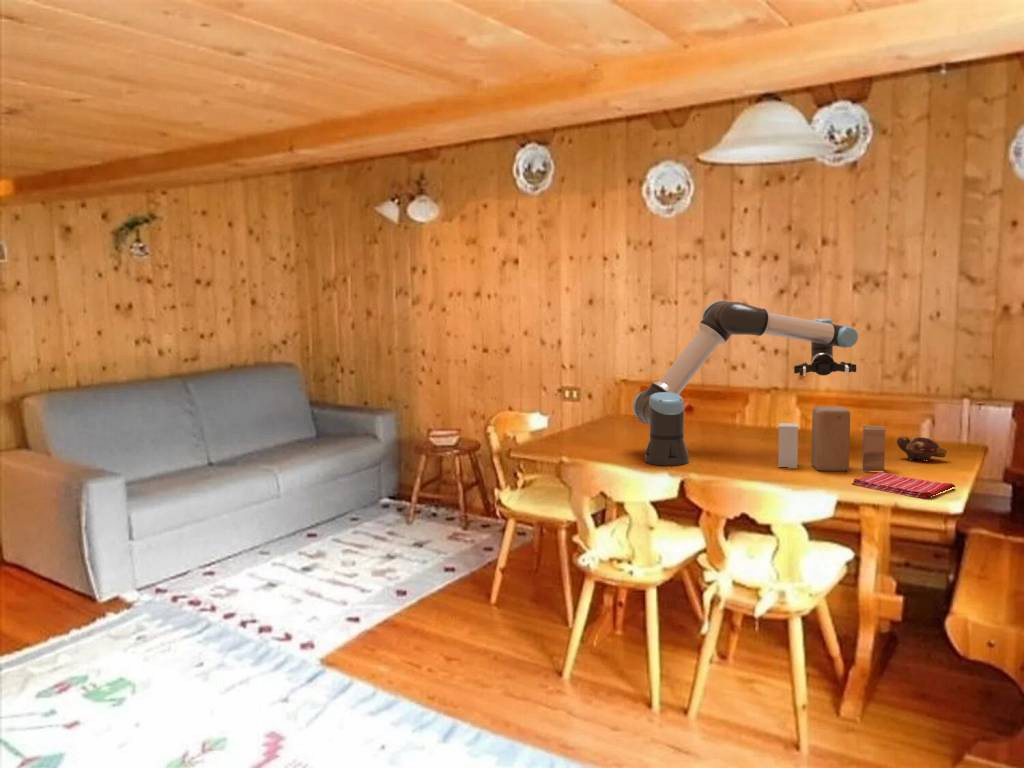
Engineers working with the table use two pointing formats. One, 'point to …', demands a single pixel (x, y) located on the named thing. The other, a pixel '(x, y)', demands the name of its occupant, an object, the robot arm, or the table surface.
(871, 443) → the walnut block
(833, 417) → the wooden block
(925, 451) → the decorative turtle
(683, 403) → the robot arm
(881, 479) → the dish towel
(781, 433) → the grey painted block
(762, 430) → the table surface
